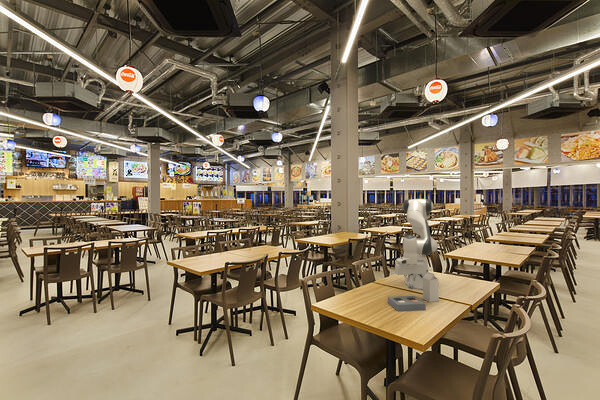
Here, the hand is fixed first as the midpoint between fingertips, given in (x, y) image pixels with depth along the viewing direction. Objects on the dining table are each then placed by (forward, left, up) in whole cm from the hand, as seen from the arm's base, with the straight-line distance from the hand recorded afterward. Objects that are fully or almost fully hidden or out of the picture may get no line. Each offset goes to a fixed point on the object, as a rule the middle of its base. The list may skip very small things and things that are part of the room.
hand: (410, 281), depth 190 cm
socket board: (+2, -4, -16) cm, 16 cm away
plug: (0, 0, -5) cm, 5 cm away
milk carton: (-7, +18, -16) cm, 25 cm away
